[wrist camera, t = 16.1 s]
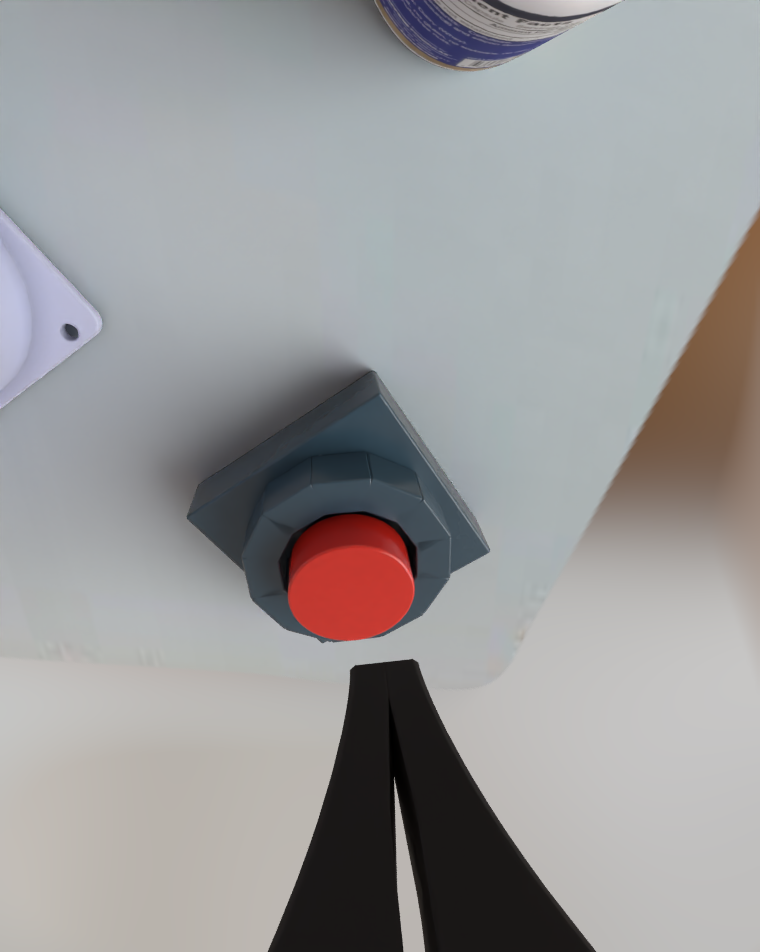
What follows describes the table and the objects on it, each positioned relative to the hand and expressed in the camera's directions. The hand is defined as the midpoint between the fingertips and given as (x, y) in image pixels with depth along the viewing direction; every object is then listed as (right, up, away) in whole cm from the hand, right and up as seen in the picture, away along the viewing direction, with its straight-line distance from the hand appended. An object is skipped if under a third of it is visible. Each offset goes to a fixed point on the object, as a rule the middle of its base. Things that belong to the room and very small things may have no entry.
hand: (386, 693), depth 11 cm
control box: (-2, +4, +10) cm, 10 cm away
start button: (-1, +2, +7) cm, 7 cm away
